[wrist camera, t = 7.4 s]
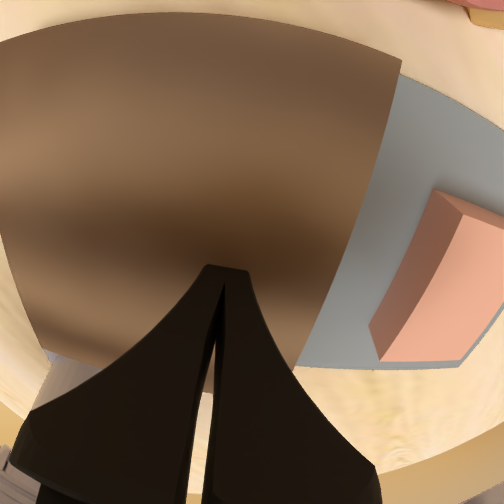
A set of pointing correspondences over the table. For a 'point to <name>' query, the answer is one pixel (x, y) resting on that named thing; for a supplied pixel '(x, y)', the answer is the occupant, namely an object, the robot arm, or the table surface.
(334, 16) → the table surface
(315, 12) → the table surface
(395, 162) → the mat
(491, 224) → the tile
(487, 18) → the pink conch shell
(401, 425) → the table surface
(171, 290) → the step
